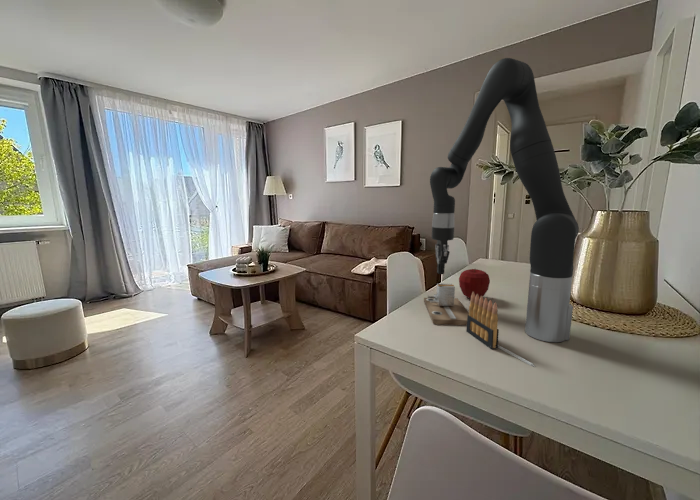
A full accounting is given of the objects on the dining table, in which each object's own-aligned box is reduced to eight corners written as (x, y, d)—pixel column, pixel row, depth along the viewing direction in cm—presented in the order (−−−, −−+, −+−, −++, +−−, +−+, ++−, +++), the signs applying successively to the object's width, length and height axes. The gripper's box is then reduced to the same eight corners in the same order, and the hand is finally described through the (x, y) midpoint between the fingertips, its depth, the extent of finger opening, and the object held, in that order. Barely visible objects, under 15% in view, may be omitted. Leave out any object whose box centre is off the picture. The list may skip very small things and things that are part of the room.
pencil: (533, 367, 64) (480, 338, 78) (534, 369, 64) (482, 340, 78) (536, 364, 64) (482, 335, 78) (537, 366, 64) (484, 338, 78)
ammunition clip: (498, 348, 73) (501, 303, 71) (491, 349, 72) (494, 303, 70) (471, 330, 83) (474, 290, 81) (466, 331, 82) (468, 290, 80)
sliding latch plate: (457, 302, 106) (457, 294, 105) (474, 325, 86) (474, 315, 86) (423, 301, 107) (424, 293, 107) (433, 324, 88) (433, 314, 87)
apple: (459, 292, 117) (461, 264, 115) (488, 295, 112) (490, 266, 110) (456, 300, 107) (457, 270, 106) (488, 304, 103) (490, 272, 101)
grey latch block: (451, 301, 100) (452, 283, 99) (454, 305, 97) (455, 286, 95) (429, 301, 101) (429, 283, 100) (431, 305, 97) (431, 286, 96)
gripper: (459, 227, 95) (456, 278, 98) (449, 224, 108) (447, 269, 111) (435, 227, 96) (433, 278, 99) (429, 224, 109) (427, 269, 112)
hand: (440, 273), depth 105 cm, fingers closed
